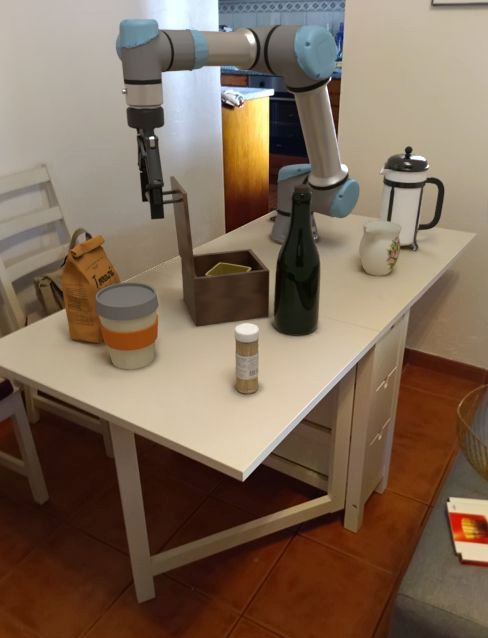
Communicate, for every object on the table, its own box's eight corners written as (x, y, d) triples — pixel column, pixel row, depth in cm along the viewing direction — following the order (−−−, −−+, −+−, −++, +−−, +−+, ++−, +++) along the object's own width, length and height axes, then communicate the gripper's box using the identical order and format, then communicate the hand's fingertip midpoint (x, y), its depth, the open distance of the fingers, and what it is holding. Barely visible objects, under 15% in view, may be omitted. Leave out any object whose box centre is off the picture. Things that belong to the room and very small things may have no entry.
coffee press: (404, 257, 177) (419, 154, 162) (362, 243, 188) (372, 145, 173) (437, 244, 187) (453, 146, 172) (395, 232, 198) (408, 138, 183)
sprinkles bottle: (252, 380, 119) (252, 320, 112) (262, 391, 115) (263, 330, 109) (231, 385, 117) (230, 325, 111) (241, 397, 114) (241, 335, 107)
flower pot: (252, 300, 149) (252, 266, 145) (238, 314, 142) (238, 280, 138) (220, 294, 152) (219, 261, 148) (205, 308, 145) (204, 274, 141)
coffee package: (133, 325, 139) (123, 235, 128) (99, 349, 130) (85, 254, 119) (99, 317, 143) (87, 229, 132) (64, 339, 134) (47, 246, 123)
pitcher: (409, 265, 172) (416, 219, 165) (382, 285, 160) (388, 236, 153) (375, 256, 178) (380, 212, 171) (346, 275, 166) (350, 227, 159)
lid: (173, 176, 136) (141, 180, 134) (186, 193, 123) (151, 197, 121) (182, 253, 145) (152, 258, 144) (195, 276, 133) (163, 282, 131)
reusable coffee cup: (167, 368, 123) (162, 303, 115) (105, 378, 120) (96, 311, 112) (157, 340, 133) (152, 278, 126) (101, 348, 130) (92, 285, 123)
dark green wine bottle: (290, 340, 133) (296, 194, 116) (264, 322, 141) (267, 183, 124) (326, 329, 138) (338, 187, 121) (300, 312, 145) (307, 176, 129)
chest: (250, 292, 156) (250, 248, 150) (268, 316, 143) (269, 270, 137) (183, 300, 151) (180, 256, 145) (196, 326, 139) (193, 279, 133)
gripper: (119, 99, 129) (128, 196, 140) (133, 116, 108) (143, 228, 119) (153, 98, 131) (160, 193, 142) (174, 114, 110) (180, 225, 121)
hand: (152, 209), depth 130 cm, fingers open, 13 cm apart
